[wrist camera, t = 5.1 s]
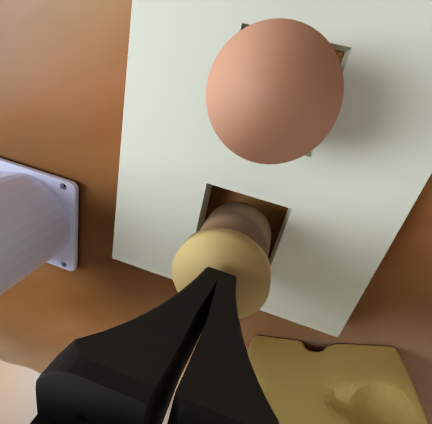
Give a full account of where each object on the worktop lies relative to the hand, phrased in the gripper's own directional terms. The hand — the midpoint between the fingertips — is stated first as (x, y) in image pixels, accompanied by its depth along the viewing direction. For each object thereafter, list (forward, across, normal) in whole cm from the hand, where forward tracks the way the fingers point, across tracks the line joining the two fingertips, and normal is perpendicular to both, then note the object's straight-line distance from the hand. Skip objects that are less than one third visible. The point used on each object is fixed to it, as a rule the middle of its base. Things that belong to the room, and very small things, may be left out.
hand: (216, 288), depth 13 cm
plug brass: (+5, 0, 0) cm, 5 cm away
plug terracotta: (+5, 0, -8) cm, 10 cm away
